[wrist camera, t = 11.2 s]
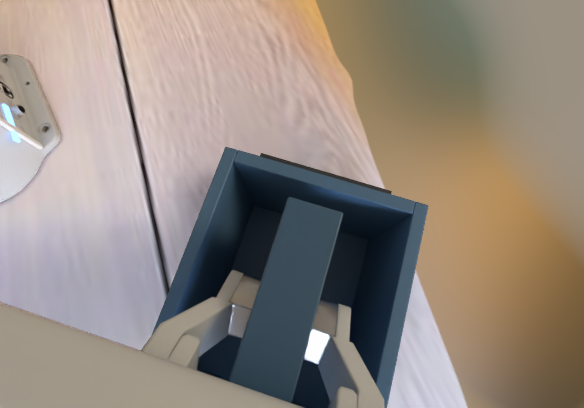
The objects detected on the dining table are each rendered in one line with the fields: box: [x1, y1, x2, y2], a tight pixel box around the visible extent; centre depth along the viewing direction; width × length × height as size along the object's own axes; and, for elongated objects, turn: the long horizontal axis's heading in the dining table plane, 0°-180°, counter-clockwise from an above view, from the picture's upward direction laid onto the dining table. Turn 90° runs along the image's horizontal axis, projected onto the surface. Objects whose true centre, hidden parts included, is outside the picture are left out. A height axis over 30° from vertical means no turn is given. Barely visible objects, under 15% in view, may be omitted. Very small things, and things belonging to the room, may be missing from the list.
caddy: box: [152, 147, 428, 408], centre depth 17 cm, size 14×11×15 cm
